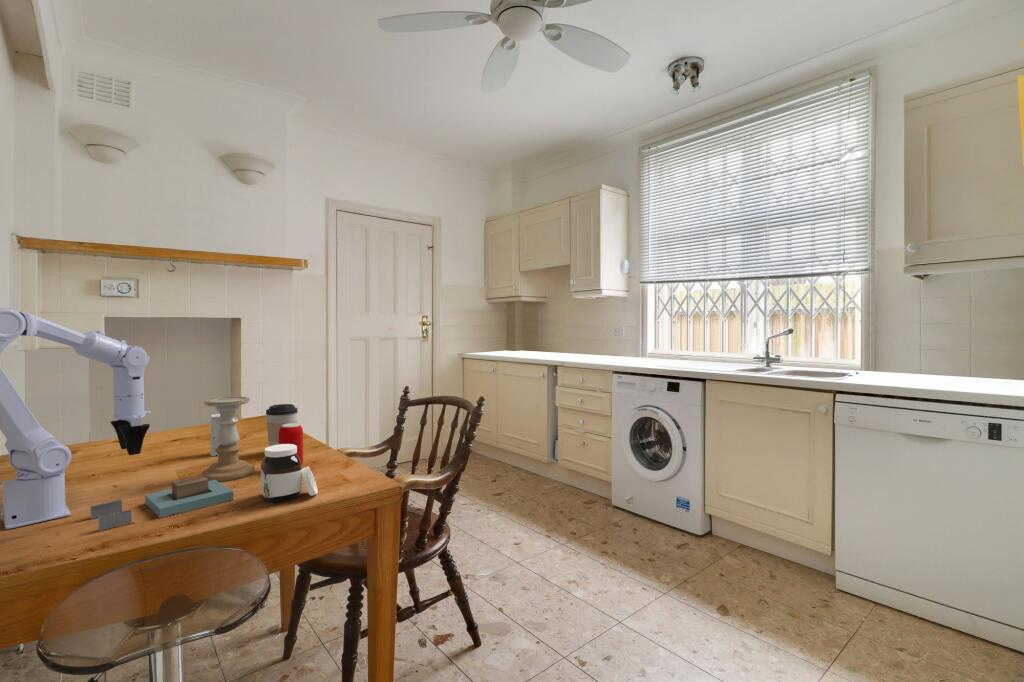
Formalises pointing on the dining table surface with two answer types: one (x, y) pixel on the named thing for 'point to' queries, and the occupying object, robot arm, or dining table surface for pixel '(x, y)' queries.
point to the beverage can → (292, 437)
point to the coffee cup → (279, 420)
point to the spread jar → (284, 474)
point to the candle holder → (227, 442)
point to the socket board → (187, 500)
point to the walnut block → (189, 487)
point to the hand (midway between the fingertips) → (130, 451)
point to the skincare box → (214, 433)
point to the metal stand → (110, 520)
